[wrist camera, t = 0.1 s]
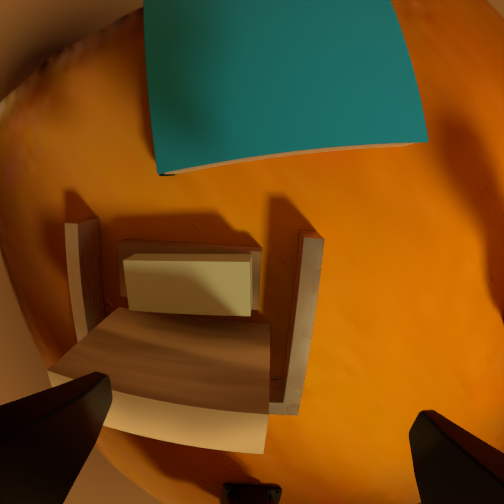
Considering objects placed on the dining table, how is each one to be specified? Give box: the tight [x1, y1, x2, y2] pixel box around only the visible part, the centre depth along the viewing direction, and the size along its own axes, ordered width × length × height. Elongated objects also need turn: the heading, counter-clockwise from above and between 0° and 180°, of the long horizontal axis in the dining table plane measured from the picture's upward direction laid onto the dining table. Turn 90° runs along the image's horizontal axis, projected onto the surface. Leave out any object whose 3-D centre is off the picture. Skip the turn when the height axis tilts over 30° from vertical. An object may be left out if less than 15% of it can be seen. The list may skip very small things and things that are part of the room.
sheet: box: [47, 307, 271, 454], centre depth 18 cm, size 3×12×10 cm, turn 86°
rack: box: [65, 218, 324, 415], centre depth 21 cm, size 13×17×3 cm
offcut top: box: [123, 254, 252, 316], centre depth 20 cm, size 3×8×2 cm, turn 91°
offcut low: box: [118, 239, 262, 310], centre depth 21 cm, size 4×10×2 cm, turn 87°
